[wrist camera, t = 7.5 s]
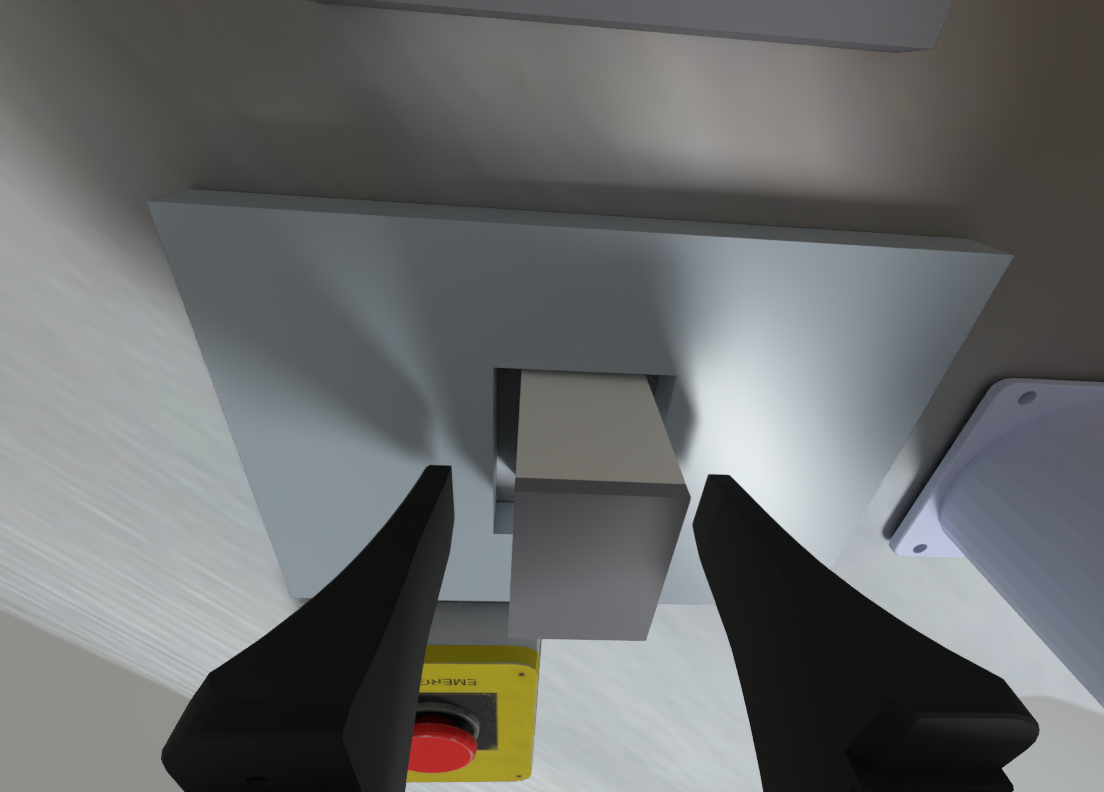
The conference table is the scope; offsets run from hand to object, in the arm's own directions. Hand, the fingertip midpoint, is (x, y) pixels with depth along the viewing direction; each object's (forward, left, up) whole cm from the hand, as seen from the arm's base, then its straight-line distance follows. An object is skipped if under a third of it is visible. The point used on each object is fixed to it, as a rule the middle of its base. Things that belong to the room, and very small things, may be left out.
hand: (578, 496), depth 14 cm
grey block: (0, 0, -3) cm, 3 cm away
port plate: (0, 0, -3) cm, 3 cm away
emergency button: (+5, +15, -4) cm, 16 cm away
